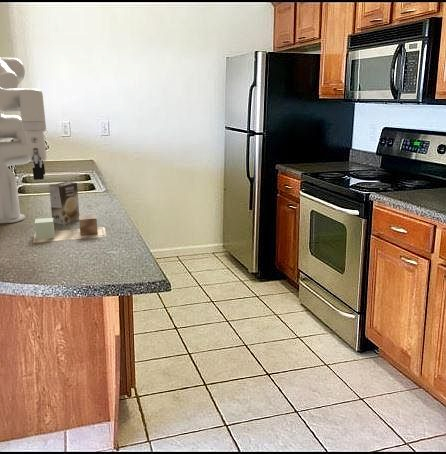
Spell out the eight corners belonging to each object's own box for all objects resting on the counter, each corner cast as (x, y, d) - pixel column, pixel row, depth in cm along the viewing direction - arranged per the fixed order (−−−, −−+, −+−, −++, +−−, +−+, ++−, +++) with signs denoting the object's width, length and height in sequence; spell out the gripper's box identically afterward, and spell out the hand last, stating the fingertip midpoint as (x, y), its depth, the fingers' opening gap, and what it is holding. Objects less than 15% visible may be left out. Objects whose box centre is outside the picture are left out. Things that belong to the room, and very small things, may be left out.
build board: (32, 245, 172) (32, 242, 172) (35, 235, 184) (34, 232, 184) (107, 239, 179) (106, 235, 178) (104, 229, 191) (104, 226, 190)
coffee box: (64, 227, 194) (60, 186, 190) (52, 225, 197) (48, 185, 193) (80, 221, 202) (77, 182, 198) (68, 219, 205) (65, 181, 201)
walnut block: (80, 235, 179) (79, 219, 178) (80, 231, 185) (78, 215, 183) (97, 234, 181) (96, 218, 179) (96, 230, 186) (95, 214, 185)
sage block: (36, 239, 175) (34, 223, 173) (37, 234, 181) (35, 218, 179) (54, 238, 177) (52, 221, 175) (54, 233, 182) (53, 217, 181)
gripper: (44, 128, 161) (50, 180, 166) (47, 125, 177) (51, 172, 182) (19, 129, 159) (26, 182, 164) (24, 125, 175) (30, 174, 180)
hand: (39, 177), depth 173 cm, fingers open, 9 cm apart
